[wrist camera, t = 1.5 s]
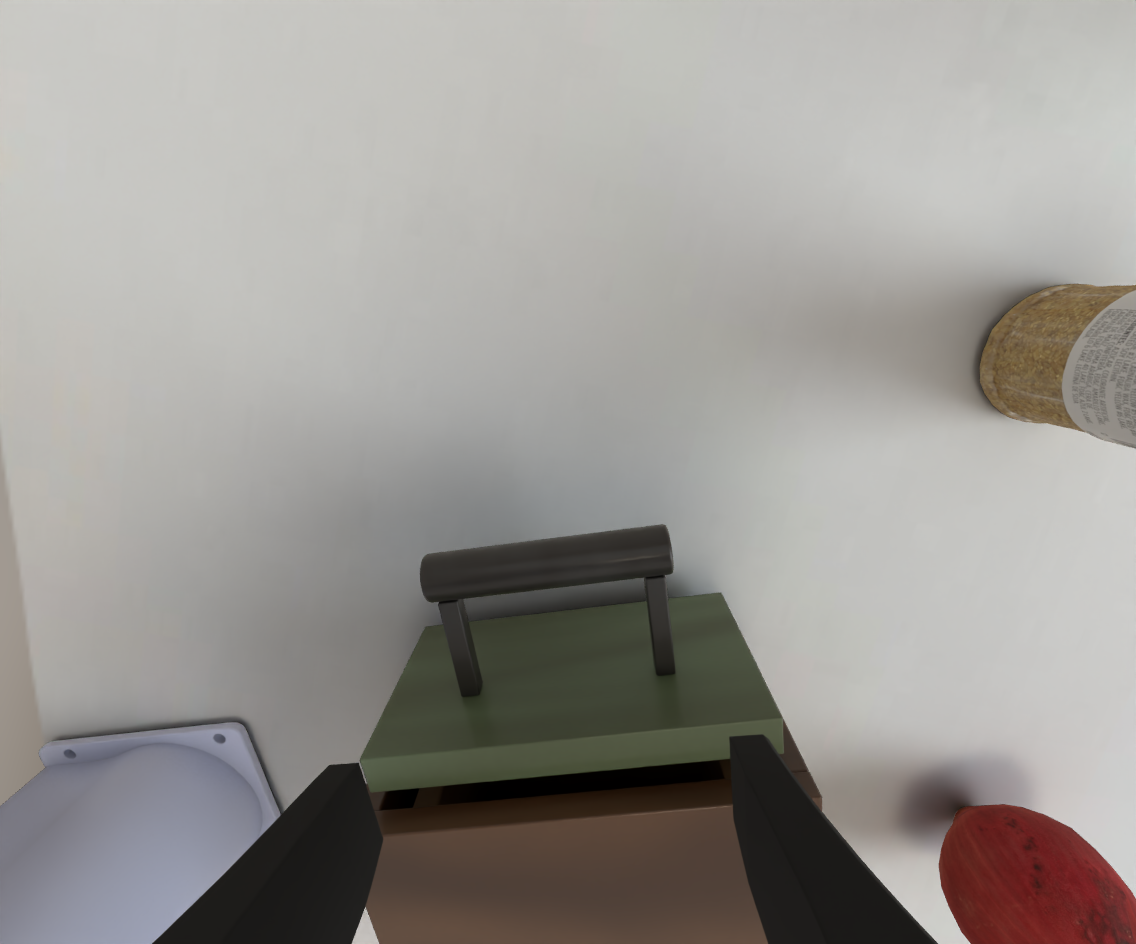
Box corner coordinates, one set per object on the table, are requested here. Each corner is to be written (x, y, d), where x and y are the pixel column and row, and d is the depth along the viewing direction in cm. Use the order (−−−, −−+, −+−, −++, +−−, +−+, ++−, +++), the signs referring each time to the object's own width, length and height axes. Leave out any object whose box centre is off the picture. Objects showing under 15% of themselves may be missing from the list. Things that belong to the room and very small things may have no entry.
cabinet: (426, 650, 22) (340, 839, 14) (733, 615, 21) (822, 797, 13) (492, 899, 26) (454, 1151, 18) (750, 879, 25) (825, 1133, 17)
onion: (942, 742, 22) (1129, 967, 15) (1061, 779, 23) (1302, 1016, 15) (876, 838, 24) (1012, 1083, 16) (987, 870, 24) (1170, 1124, 17)
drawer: (395, 514, 19) (308, 610, 13) (713, 472, 18) (778, 554, 12) (491, 876, 24) (461, 1064, 18) (740, 856, 23) (794, 1046, 17)
